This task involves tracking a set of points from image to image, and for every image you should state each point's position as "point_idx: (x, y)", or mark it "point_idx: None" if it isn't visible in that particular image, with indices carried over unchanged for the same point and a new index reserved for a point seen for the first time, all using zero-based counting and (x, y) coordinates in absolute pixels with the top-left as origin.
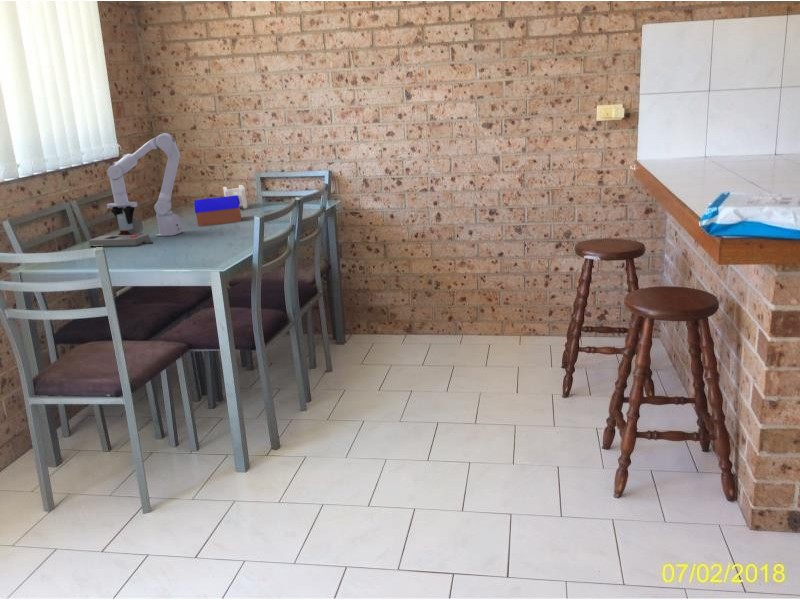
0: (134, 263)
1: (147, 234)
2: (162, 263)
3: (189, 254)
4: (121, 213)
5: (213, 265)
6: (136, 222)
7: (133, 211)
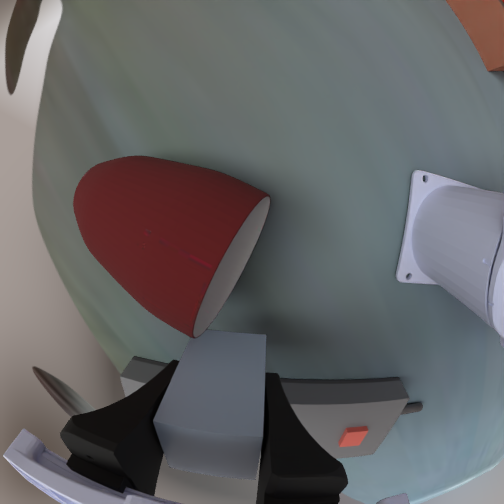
0: None
1: (406, 399)
2: (447, 480)
3: (488, 443)
4: (165, 438)
5: (497, 459)
6: (192, 179)
7: (316, 447)
